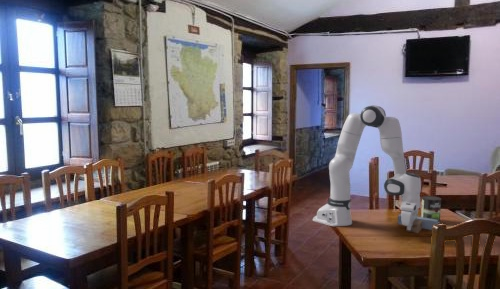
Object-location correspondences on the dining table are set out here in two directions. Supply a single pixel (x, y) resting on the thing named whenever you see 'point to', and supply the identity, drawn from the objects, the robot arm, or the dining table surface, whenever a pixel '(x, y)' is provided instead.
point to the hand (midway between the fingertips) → (409, 229)
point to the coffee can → (431, 207)
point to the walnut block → (416, 226)
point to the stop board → (426, 222)
